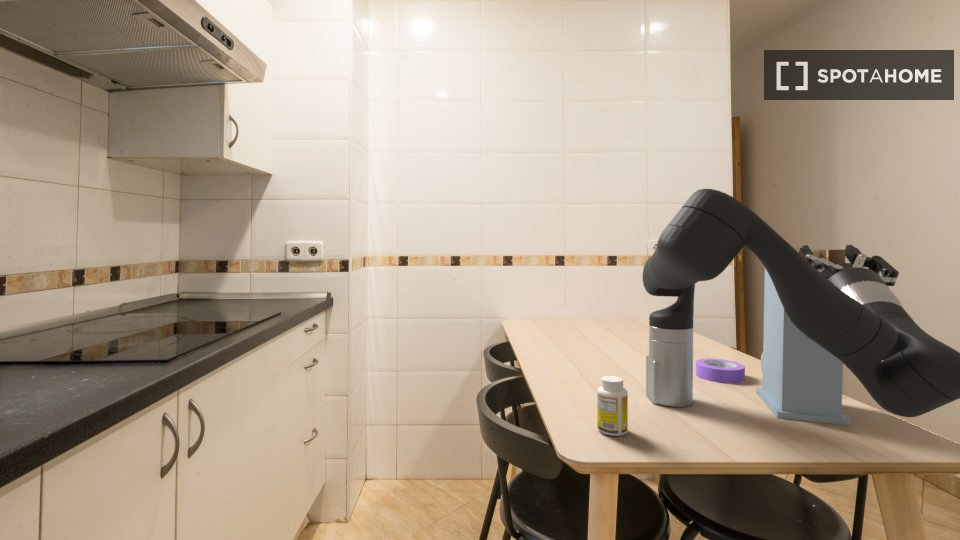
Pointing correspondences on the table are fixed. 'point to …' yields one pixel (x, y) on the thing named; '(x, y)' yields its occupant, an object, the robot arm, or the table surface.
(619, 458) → the table surface
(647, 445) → the table surface
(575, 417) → the table surface
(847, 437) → the table surface
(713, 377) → the masking tape
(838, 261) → the brown wooden bar
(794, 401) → the pale blue pedestal
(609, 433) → the supplement bottle
